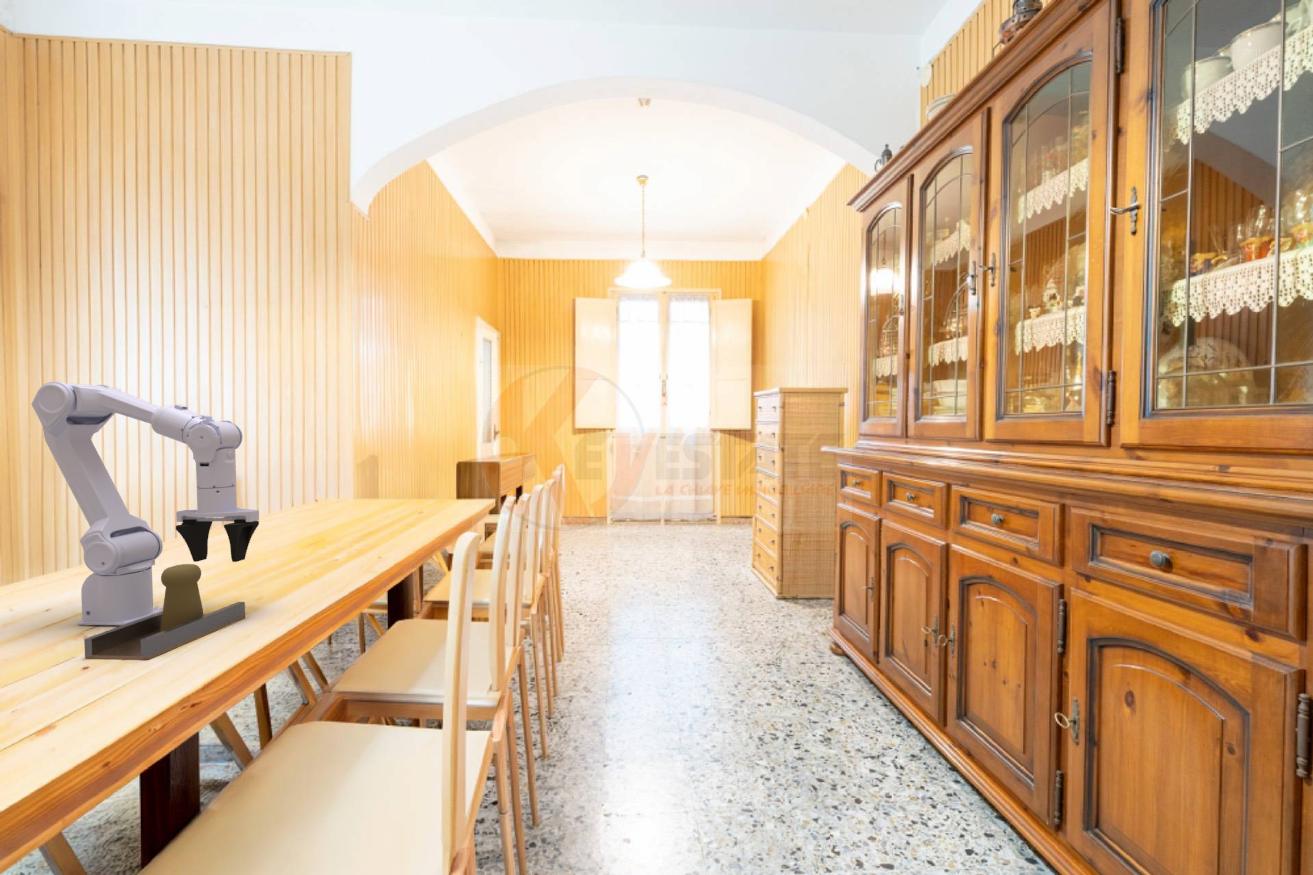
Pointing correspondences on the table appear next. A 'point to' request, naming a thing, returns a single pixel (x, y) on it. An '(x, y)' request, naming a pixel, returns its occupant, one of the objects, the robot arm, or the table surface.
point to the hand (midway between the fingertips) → (219, 560)
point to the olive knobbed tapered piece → (181, 595)
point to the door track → (157, 635)
